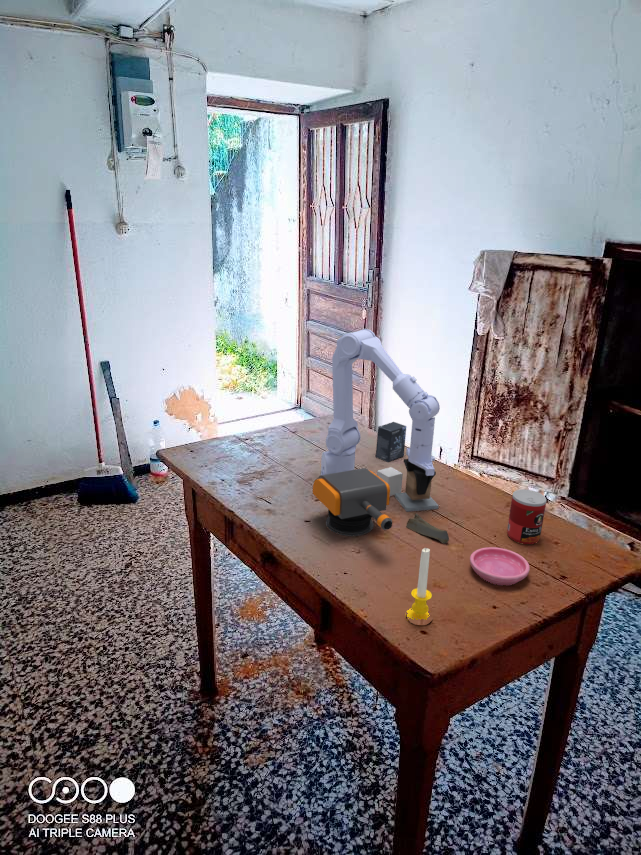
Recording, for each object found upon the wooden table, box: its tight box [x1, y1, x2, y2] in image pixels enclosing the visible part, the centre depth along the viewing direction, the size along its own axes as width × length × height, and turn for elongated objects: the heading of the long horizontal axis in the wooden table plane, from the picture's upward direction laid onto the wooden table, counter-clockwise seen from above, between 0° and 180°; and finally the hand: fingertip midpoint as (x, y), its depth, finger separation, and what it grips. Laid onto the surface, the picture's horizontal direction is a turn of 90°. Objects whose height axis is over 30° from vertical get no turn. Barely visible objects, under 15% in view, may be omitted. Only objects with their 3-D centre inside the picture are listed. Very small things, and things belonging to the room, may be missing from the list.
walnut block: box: [404, 471, 433, 500], centre depth 159 cm, size 5×5×6 cm
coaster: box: [394, 491, 439, 513], centre depth 160 cm, size 9×9×1 cm
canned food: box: [506, 489, 547, 545], centre depth 143 cm, size 8×8×11 cm
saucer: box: [469, 546, 531, 586], centre depth 129 cm, size 12×12×3 cm
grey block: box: [376, 466, 403, 497], centre depth 166 cm, size 5×5×6 cm
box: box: [375, 421, 407, 463], centre depth 189 cm, size 8×6×11 cm
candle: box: [406, 547, 433, 620], centre depth 112 cm, size 5×5×16 cm
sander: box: [312, 467, 393, 537], centre depth 142 cm, size 15×25×13 cm, turn 25°
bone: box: [405, 513, 450, 545], centre depth 145 cm, size 13×5×4 cm, turn 30°
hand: (417, 489), depth 159 cm, fingers closed on walnut block, 5 cm apart
